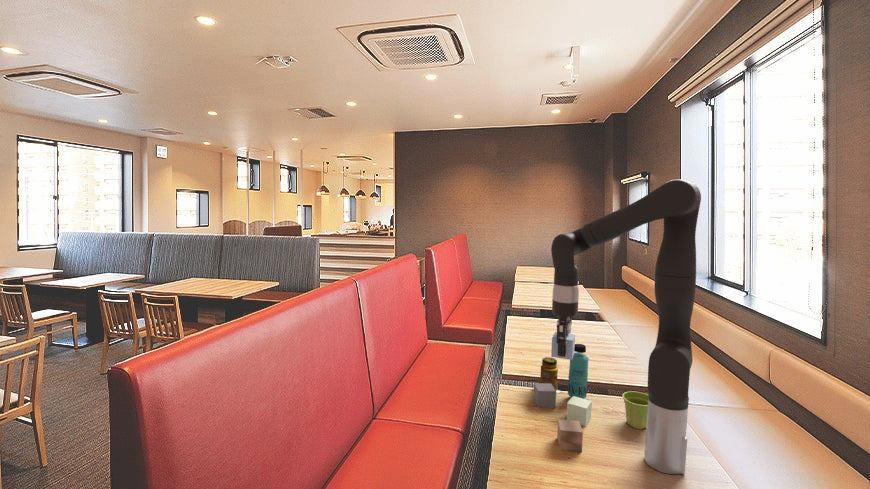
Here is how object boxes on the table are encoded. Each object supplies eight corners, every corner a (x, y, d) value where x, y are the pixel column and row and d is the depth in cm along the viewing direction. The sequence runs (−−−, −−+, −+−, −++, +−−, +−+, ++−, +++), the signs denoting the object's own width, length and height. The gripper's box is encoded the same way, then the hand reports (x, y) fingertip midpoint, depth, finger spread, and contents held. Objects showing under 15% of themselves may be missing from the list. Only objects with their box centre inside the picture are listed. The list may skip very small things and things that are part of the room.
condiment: (561, 392, 153) (563, 360, 151) (546, 398, 148) (547, 365, 147) (546, 384, 159) (547, 354, 157) (530, 390, 154) (532, 359, 153)
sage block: (590, 418, 134) (591, 401, 133) (585, 426, 129) (586, 408, 129) (572, 413, 138) (573, 395, 137) (566, 420, 133) (567, 402, 132)
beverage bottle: (565, 394, 150) (568, 341, 148) (584, 395, 150) (587, 342, 148) (569, 403, 144) (571, 347, 142) (588, 404, 143) (591, 348, 141)
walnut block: (578, 440, 122) (579, 421, 121) (581, 452, 116) (582, 432, 115) (557, 438, 123) (557, 419, 122) (559, 450, 117) (560, 430, 116)
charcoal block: (550, 399, 147) (551, 383, 146) (555, 408, 141) (556, 391, 140) (533, 399, 147) (534, 383, 146) (537, 408, 141) (538, 391, 140)
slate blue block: (574, 353, 129) (575, 334, 128) (571, 360, 124) (572, 340, 123) (554, 350, 132) (555, 332, 131) (551, 356, 126) (552, 337, 126)
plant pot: (653, 435, 124) (655, 408, 124) (619, 427, 129) (621, 400, 128) (654, 421, 133) (655, 395, 132) (621, 414, 137) (623, 388, 136)
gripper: (575, 305, 118) (573, 362, 119) (580, 295, 131) (578, 347, 132) (548, 302, 121) (546, 358, 123) (556, 293, 134) (554, 343, 136)
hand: (563, 352), depth 128 cm, fingers closed on slate blue block, 6 cm apart
